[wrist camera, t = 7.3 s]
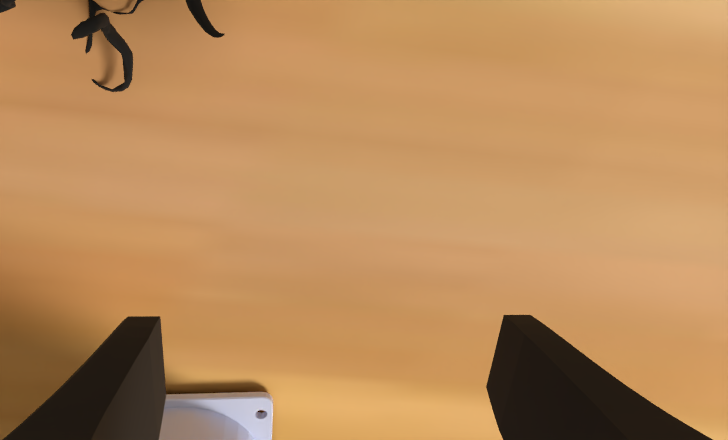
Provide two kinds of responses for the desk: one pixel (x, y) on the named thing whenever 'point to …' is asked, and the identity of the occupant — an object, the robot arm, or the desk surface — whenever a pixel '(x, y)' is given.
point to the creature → (5, 1)
